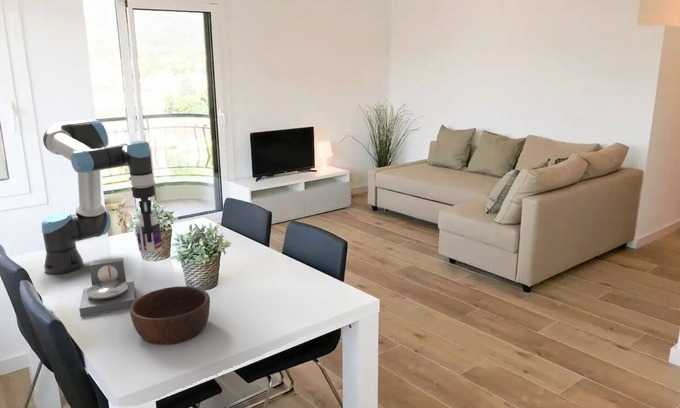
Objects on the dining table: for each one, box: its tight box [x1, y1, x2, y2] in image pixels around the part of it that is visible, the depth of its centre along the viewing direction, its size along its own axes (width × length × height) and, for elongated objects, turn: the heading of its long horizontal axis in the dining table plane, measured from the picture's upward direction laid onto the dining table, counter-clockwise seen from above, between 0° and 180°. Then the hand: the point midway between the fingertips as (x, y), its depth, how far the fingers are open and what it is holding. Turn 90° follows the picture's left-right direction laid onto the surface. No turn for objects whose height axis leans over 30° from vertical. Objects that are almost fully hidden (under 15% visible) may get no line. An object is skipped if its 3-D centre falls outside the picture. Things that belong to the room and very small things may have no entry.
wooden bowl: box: [129, 286, 211, 346], centre depth 176 cm, size 25×25×10 cm
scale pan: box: [87, 281, 128, 299], centre depth 198 cm, size 14×14×2 cm
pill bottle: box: [135, 210, 163, 255], centre depth 194 cm, size 8×8×14 cm
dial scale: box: [78, 257, 136, 317], centre depth 199 cm, size 21×18×12 cm
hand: (150, 246), depth 195 cm, fingers closed on pill bottle, 8 cm apart
